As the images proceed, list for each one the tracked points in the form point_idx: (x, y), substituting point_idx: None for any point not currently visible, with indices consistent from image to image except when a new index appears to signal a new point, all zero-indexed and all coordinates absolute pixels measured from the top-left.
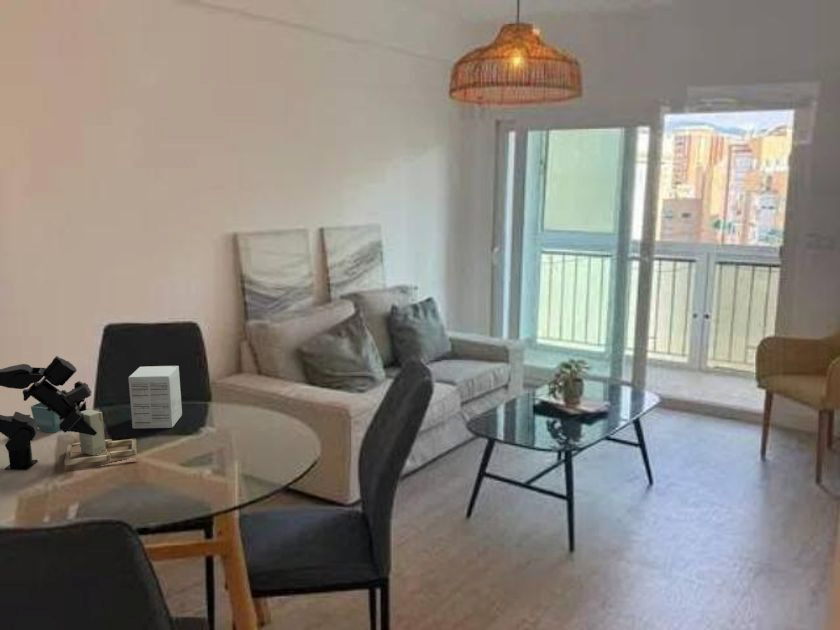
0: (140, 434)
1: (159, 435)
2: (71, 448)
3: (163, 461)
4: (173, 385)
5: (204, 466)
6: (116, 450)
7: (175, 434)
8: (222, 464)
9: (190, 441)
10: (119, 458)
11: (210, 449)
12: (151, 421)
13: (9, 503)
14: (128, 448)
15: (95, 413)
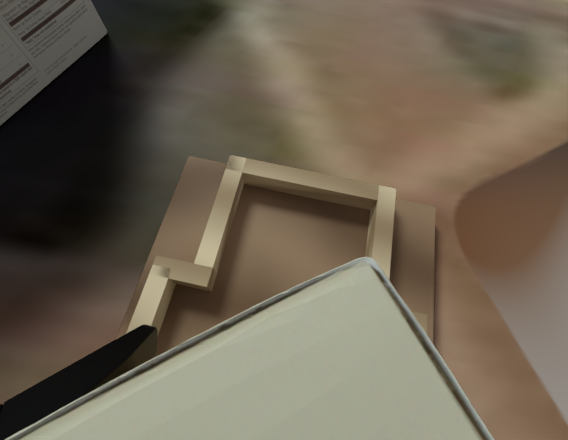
0: (89, 132)
1: (159, 82)
2: None
3: (455, 133)
4: None
5: (543, 52)
6: (285, 263)
7: (189, 42)
8: (539, 16)
9: (293, 26)
10: (410, 272)
11: (399, 7)
12: (30, 56)
13: None
14: (289, 209)
15: (435, 400)
